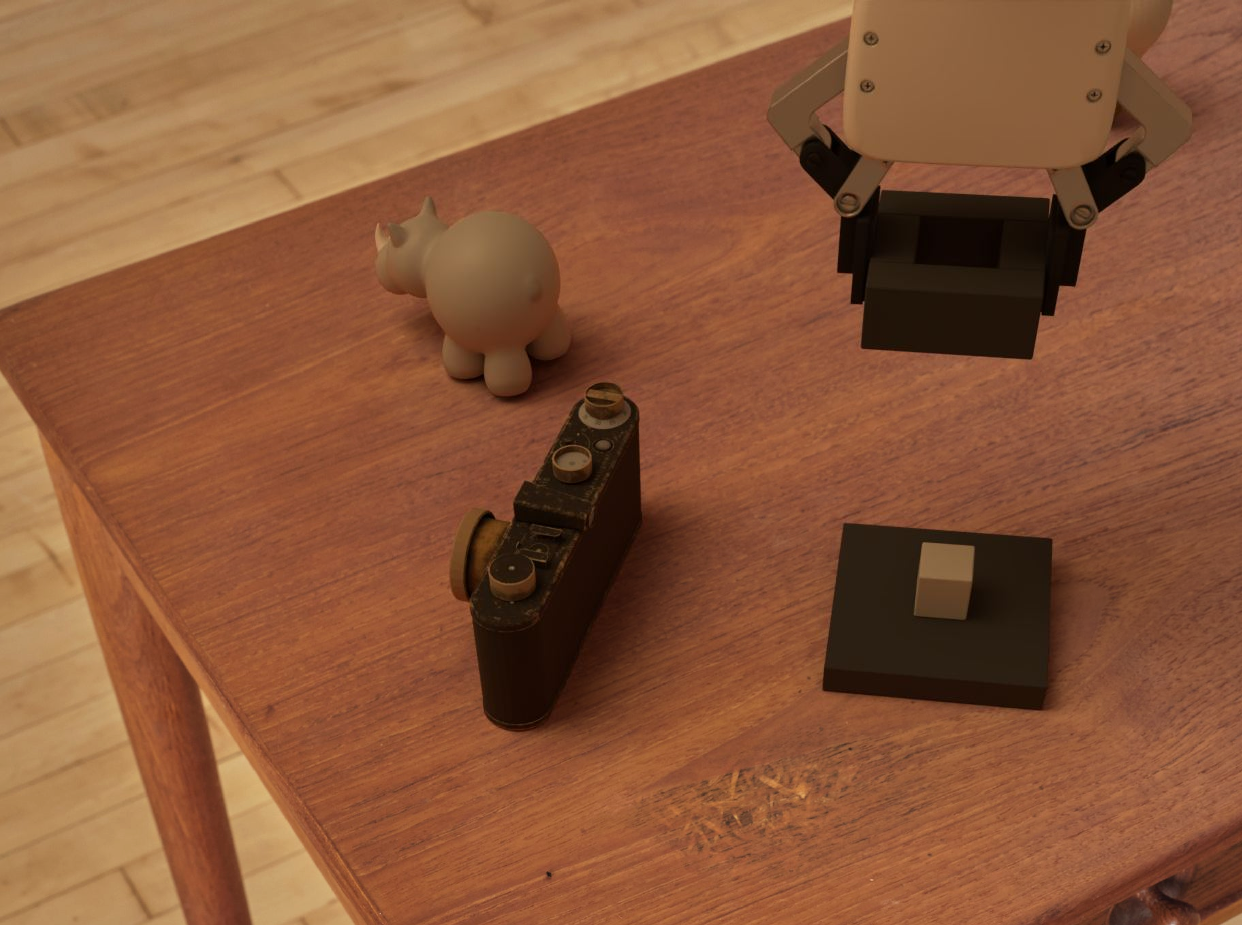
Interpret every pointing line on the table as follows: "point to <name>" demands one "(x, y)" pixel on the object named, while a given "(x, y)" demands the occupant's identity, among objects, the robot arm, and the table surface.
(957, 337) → the black square ring block
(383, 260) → the chubby cartoon animal
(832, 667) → the base pad
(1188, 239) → the table surface
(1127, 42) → the light bulb
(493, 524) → the camera
